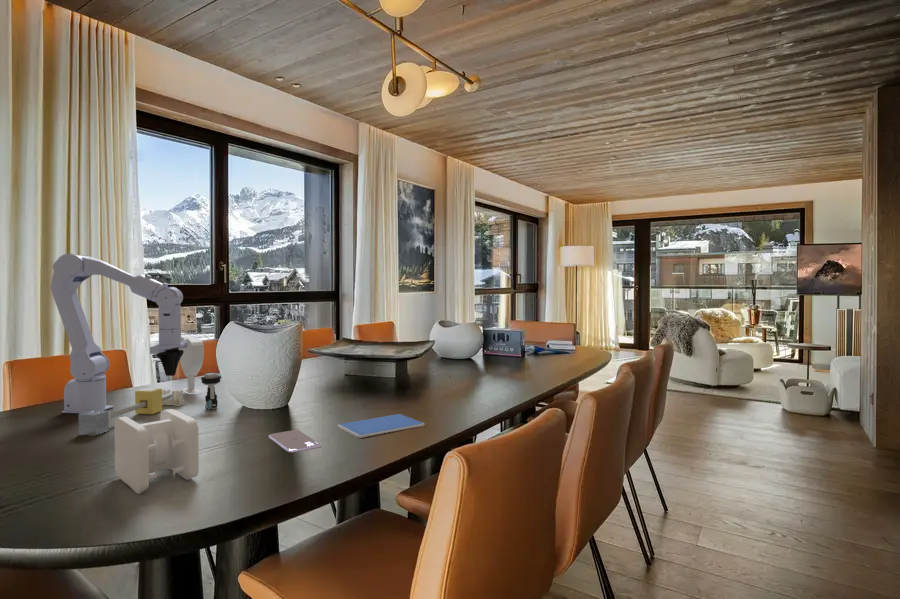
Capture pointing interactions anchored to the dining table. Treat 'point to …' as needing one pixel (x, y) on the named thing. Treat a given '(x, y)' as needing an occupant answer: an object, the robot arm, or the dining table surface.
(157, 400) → the matte pale yellow cube
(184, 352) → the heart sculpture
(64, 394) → the robot arm
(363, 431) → the tablet computer
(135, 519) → the dining table surface
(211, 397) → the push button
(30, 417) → the dining table surface
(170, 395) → the rod
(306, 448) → the mobile phone
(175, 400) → the cable comb
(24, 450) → the dining table surface
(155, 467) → the cable organizer
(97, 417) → the connector
